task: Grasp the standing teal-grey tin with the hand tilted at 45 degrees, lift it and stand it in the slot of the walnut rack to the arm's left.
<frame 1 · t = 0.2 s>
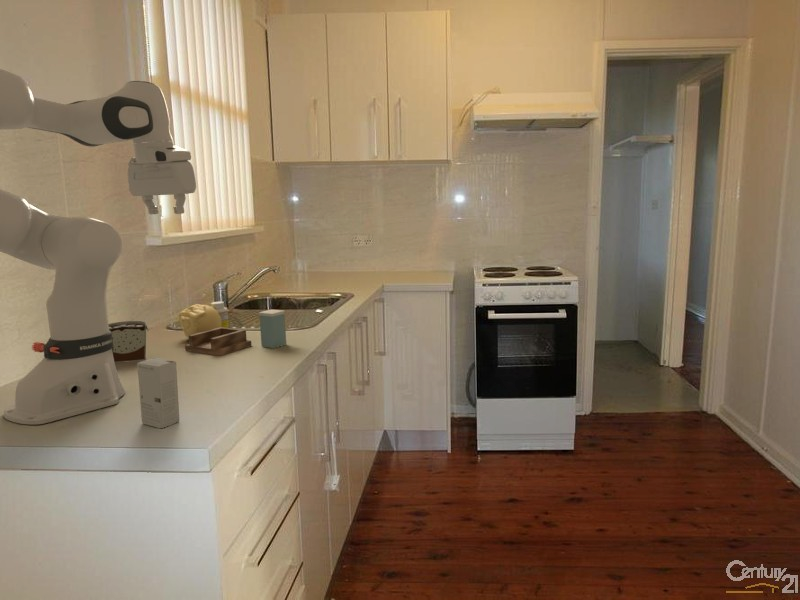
hand: (166, 214, 139), 39 cm above the counter, tool pointing down, fingers open, 8 cm apart
skincare box: (162, 423, 110), on the counter
rack: (218, 347, 166), on the counter
tin: (274, 345, 168), on the counter
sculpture: (202, 338, 179), on the counter, touching supplement bottle
food container: (129, 359, 157), on the counter
supplement bottle: (220, 334, 184), on the counter, touching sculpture
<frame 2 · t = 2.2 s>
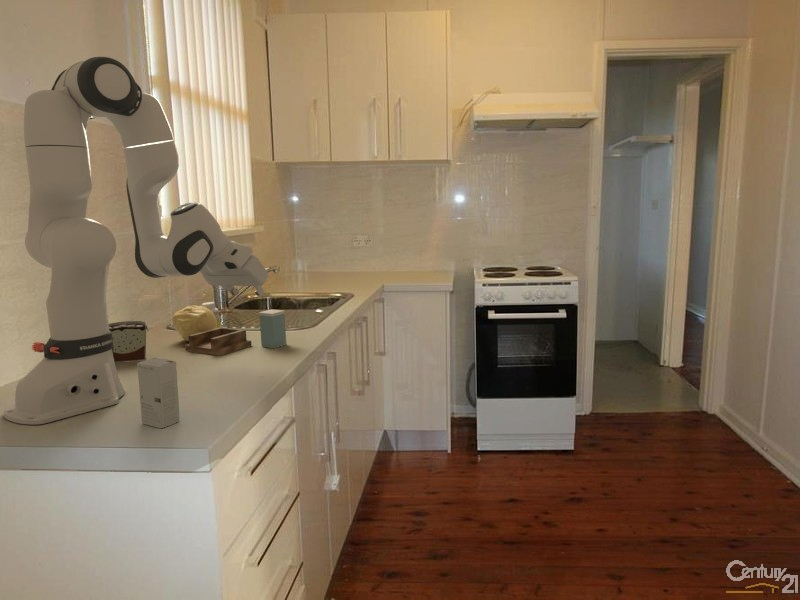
hand: (248, 294, 156), 17 cm above the counter, tool tilted 35°, fingers open, 8 cm apart
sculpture: (198, 340, 177), on the counter, touching supplement bottle
supplement bottle: (212, 335, 184), on the counter, touching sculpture
everything else where it was.
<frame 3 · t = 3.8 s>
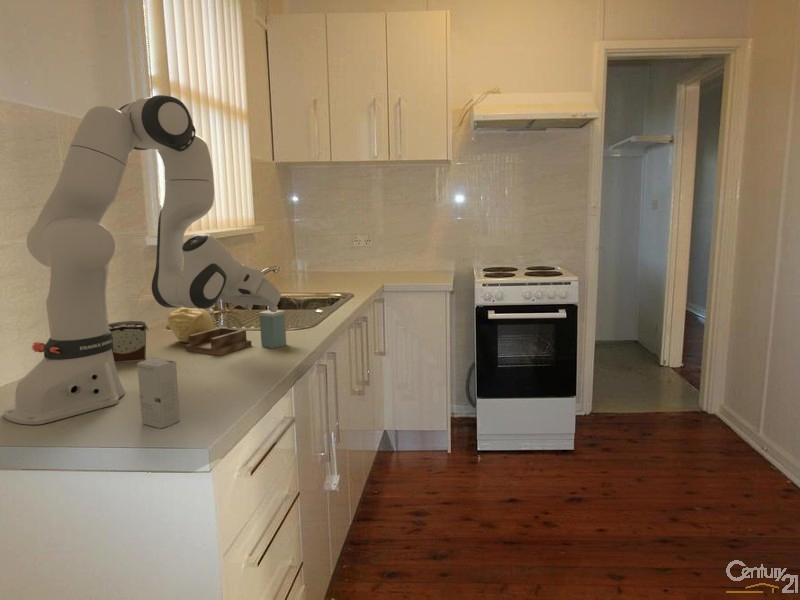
hand: (262, 309, 162), 12 cm above the counter, tool tilted 45°, fingers open, 8 cm apart
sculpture: (193, 340, 176), on the counter, touching supplement bottle
supplement bottle: (206, 335, 183), on the counter, touching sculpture
everything else where it was.
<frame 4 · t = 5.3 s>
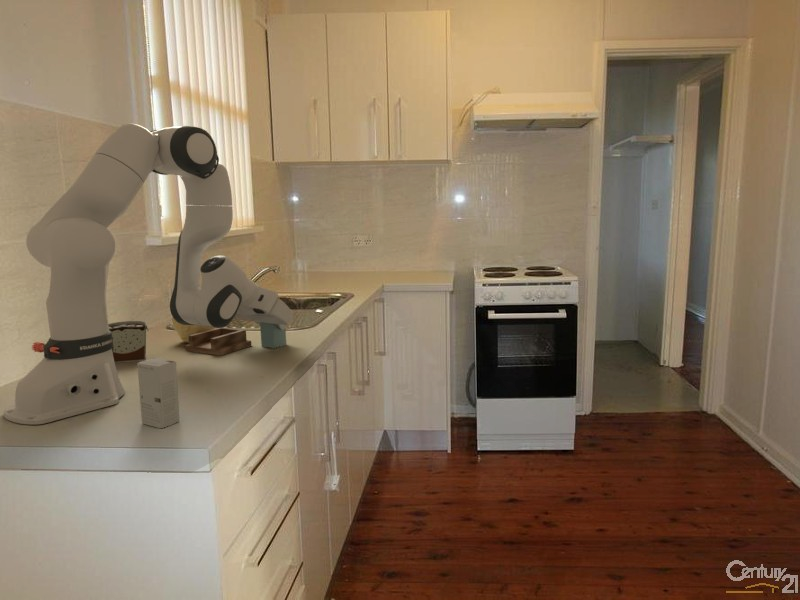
hand: (274, 326, 167), 5 cm above the counter, tool tilted 45°, fingers closed on tin, 5 cm apart
tin: (274, 345, 168), on the counter, touching gripper
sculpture: (197, 341, 176), on the counter, touching supplement bottle
supplement bottle: (212, 336, 182), on the counter, touching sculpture
everything else where it was.
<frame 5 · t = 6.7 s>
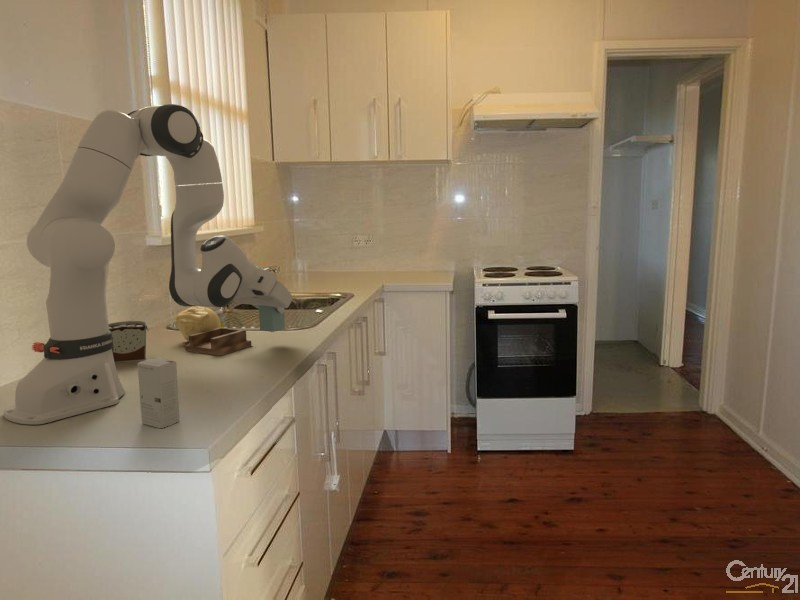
hand: (273, 310, 167), 10 cm above the counter, tool tilted 45°, fingers closed on tin, 5 cm apart
tin: (272, 329, 167), point 5 cm above the counter, touching gripper
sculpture: (201, 341, 176), on the counter, touching supplement bottle
supplement bottle: (215, 336, 182), on the counter, touching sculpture
everything else where it was.
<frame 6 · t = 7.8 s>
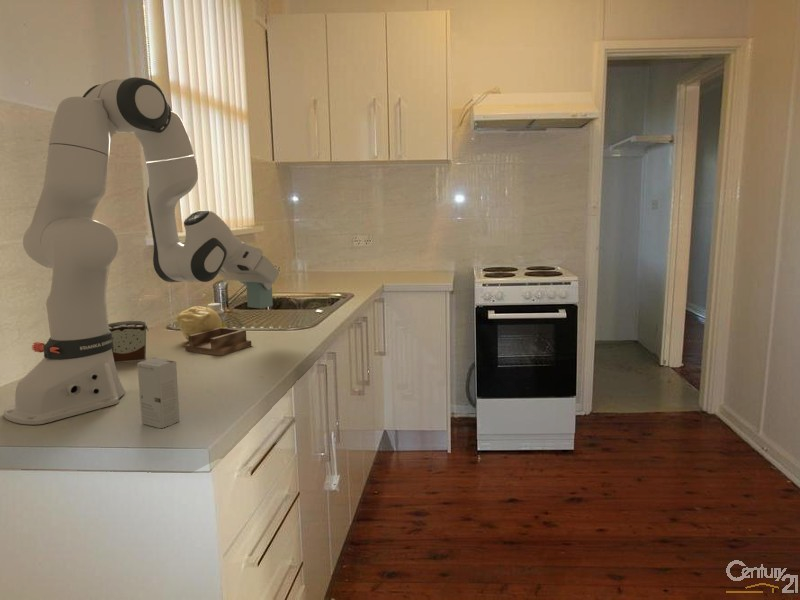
hand: (260, 287, 165), 17 cm above the counter, tool tilted 45°, fingers closed on tin, 5 cm apart
tin: (260, 306, 166), point 12 cm above the counter, touching gripper
everything else where it was.
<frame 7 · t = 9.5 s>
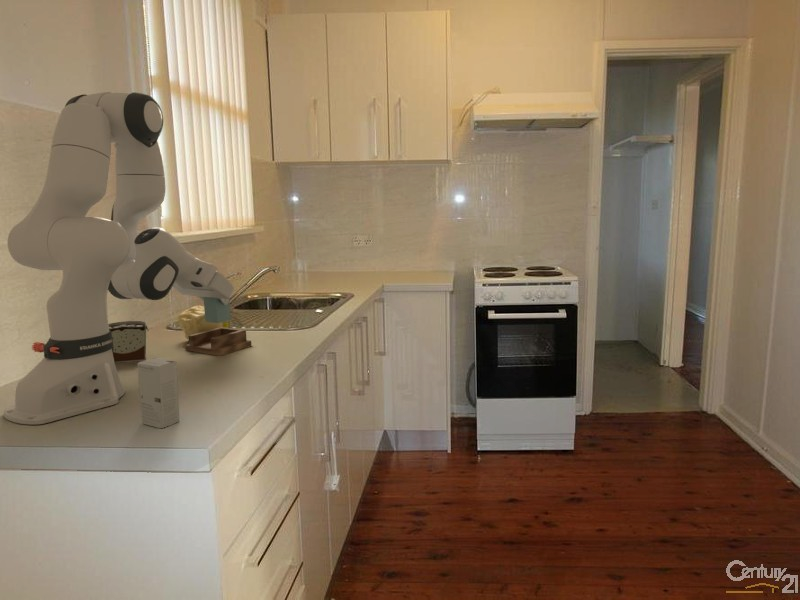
hand: (218, 302, 165), 13 cm above the counter, tool tilted 45°, fingers closed on tin, 5 cm apart
tin: (218, 320, 166), point 8 cm above the counter, touching gripper
supplement bottle: (220, 336, 182), on the counter, touching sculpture
when the fingers open (8 cm above the counter, at t = 10.8 s): tin stays where it is, resting on rack.
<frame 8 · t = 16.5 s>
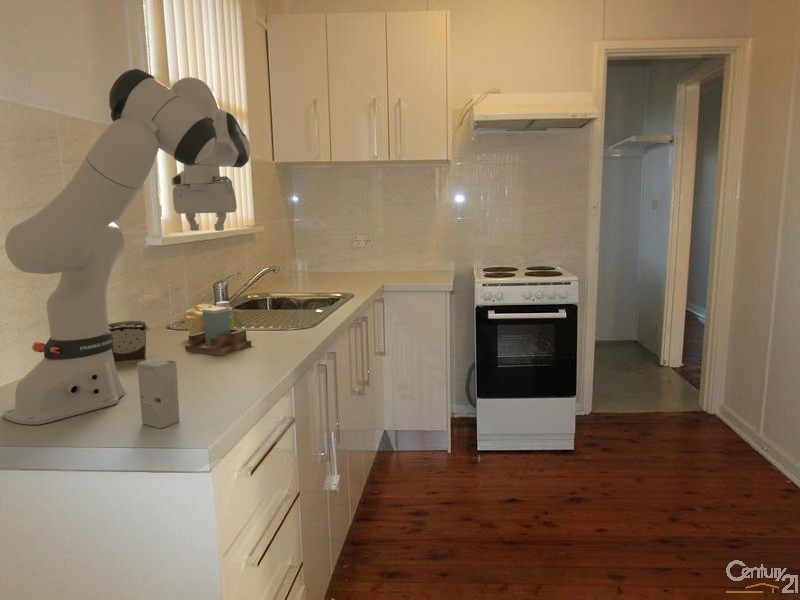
hand: (206, 230, 153), 34 cm above the counter, tool pointing down, fingers open, 8 cm apart
tin: (218, 342, 166), point 1 cm above the counter, touching rack
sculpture: (207, 338, 180), on the counter, touching supplement bottle
supplement bottle: (225, 334, 185), on the counter, touching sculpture
everything else where it was.
at the end: tin inside the target area on the rack (0.0 cm from its centre), point 1.5 cm above the rack's base; tin tilted 0°; the gripper is holding nothing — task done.
